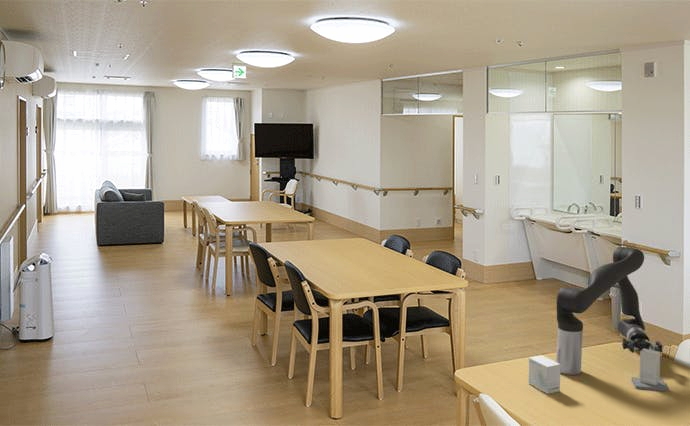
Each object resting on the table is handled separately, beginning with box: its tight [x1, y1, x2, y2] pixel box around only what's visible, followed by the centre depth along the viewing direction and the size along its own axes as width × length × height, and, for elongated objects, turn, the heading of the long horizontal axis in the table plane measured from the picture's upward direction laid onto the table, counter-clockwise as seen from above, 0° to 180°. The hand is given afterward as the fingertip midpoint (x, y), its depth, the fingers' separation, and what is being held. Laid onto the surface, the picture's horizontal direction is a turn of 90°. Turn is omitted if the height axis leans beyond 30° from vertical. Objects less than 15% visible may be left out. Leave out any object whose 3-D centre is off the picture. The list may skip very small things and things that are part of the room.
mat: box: [631, 376, 669, 392], centre depth 239 cm, size 11×9×1 cm
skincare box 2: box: [638, 348, 661, 386], centre depth 238 cm, size 6×4×12 cm
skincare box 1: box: [528, 354, 561, 395], centre depth 236 cm, size 10×6×10 cm, turn 23°
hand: (645, 351), depth 249 cm, fingers open, 8 cm apart
